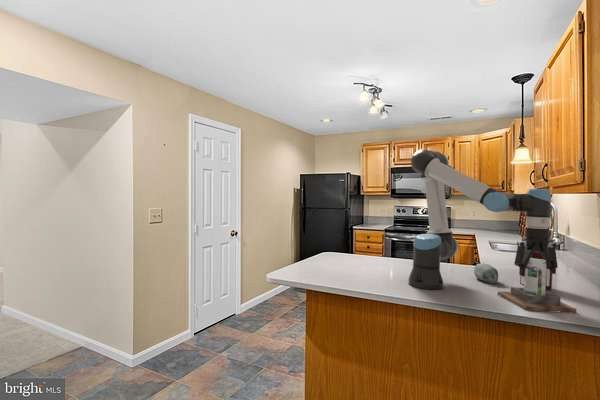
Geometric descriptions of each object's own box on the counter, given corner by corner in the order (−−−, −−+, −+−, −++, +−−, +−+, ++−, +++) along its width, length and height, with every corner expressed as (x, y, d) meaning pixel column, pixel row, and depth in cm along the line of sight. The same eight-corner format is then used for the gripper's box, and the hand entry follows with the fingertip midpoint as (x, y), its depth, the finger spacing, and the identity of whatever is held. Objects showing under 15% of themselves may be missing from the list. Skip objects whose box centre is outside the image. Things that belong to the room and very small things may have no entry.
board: (525, 310, 115) (526, 298, 115) (497, 294, 133) (498, 284, 133) (576, 312, 114) (576, 300, 114) (541, 296, 132) (541, 286, 132)
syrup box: (523, 294, 124) (524, 258, 124) (528, 291, 128) (530, 256, 127) (540, 298, 119) (541, 261, 119) (545, 295, 123) (547, 259, 123)
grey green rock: (506, 278, 147) (494, 259, 150) (487, 286, 148) (475, 267, 151) (495, 278, 160) (484, 260, 163) (477, 285, 161) (467, 267, 164)
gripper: (516, 227, 120) (514, 286, 120) (571, 229, 119) (569, 288, 119) (504, 225, 127) (502, 280, 128) (556, 227, 126) (554, 283, 127)
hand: (534, 284), depth 123 cm, fingers closed on syrup box, 8 cm apart
